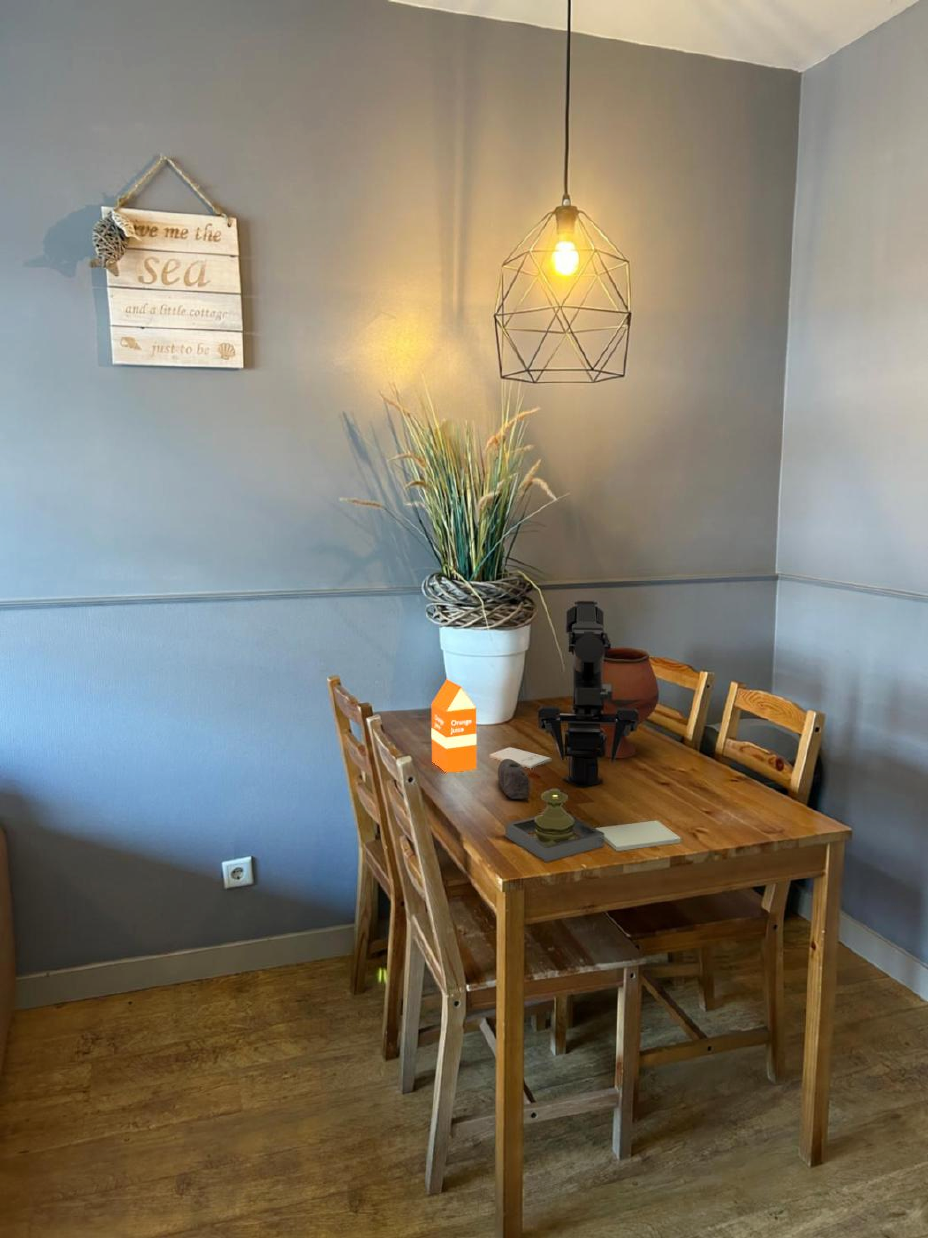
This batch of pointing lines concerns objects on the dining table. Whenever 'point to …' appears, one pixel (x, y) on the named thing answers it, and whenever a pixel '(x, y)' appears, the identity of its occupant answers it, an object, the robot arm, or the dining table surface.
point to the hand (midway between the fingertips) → (587, 761)
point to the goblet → (628, 690)
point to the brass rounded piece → (554, 819)
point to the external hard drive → (520, 757)
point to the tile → (638, 835)
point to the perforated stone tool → (513, 779)
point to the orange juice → (453, 729)
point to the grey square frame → (585, 842)
